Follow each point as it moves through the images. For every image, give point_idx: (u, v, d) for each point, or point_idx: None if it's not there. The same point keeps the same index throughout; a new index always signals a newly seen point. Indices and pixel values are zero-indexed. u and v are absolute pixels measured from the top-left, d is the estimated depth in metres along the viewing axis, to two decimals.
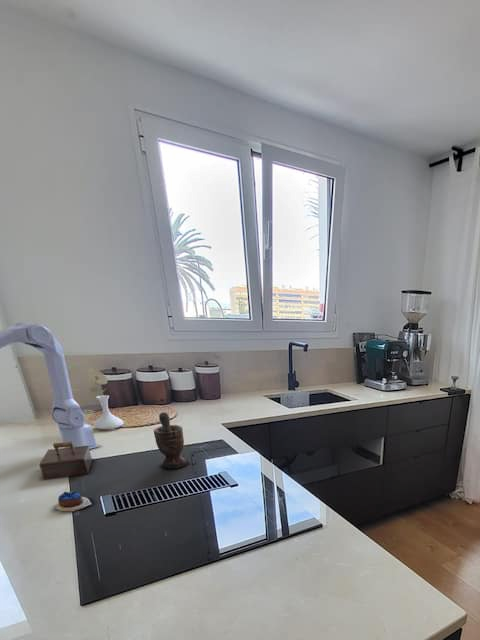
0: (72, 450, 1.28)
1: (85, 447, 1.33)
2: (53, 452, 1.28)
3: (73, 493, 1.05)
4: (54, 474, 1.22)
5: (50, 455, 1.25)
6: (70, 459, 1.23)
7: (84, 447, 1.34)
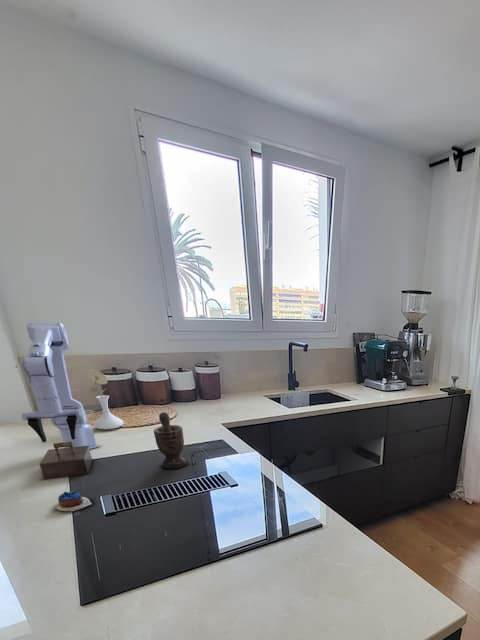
0: (72, 450, 1.28)
1: (85, 447, 1.33)
2: (53, 452, 1.28)
3: (73, 493, 1.05)
4: (54, 474, 1.22)
5: (50, 455, 1.25)
6: (70, 459, 1.23)
7: (84, 447, 1.34)
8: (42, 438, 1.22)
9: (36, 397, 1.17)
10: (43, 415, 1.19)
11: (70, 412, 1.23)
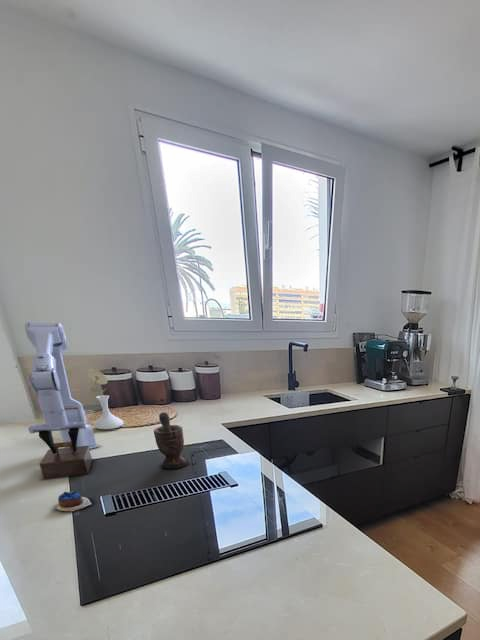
0: (72, 450, 1.28)
1: (85, 447, 1.33)
2: None
3: (73, 493, 1.05)
4: (54, 474, 1.22)
5: (50, 455, 1.25)
6: (70, 459, 1.23)
7: (84, 447, 1.34)
8: (52, 450, 1.25)
9: (43, 410, 1.19)
10: (49, 428, 1.21)
11: (76, 424, 1.25)
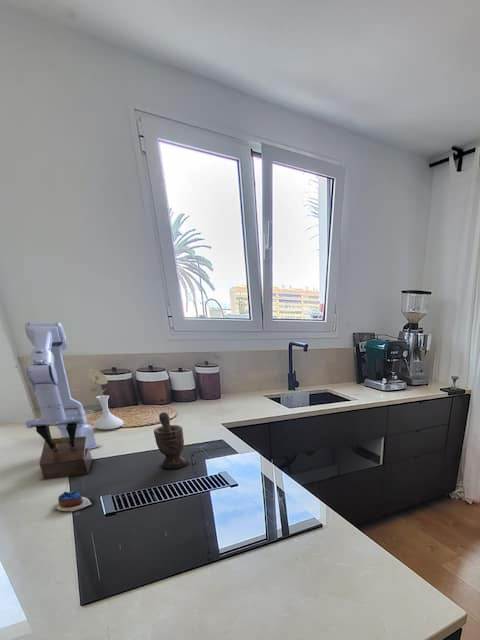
0: (70, 445, 1.27)
1: (83, 439, 1.32)
2: None
3: (73, 493, 1.05)
4: (54, 474, 1.22)
5: (48, 450, 1.25)
6: (70, 458, 1.23)
7: (81, 438, 1.32)
8: (50, 445, 1.23)
9: (40, 405, 1.18)
10: (47, 423, 1.19)
11: (74, 419, 1.23)
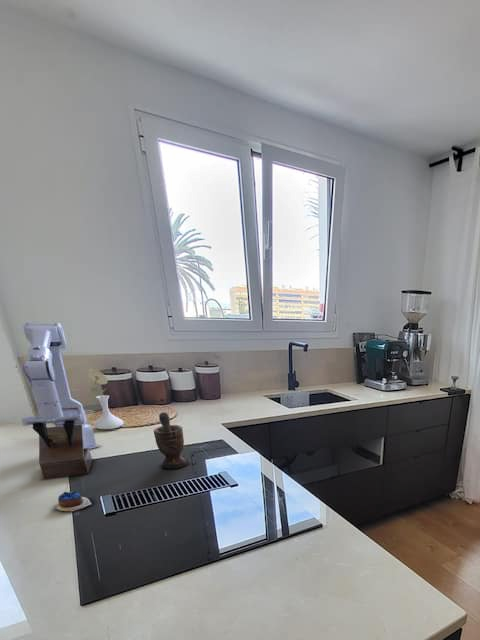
0: None
1: (79, 429, 1.29)
2: None
3: (73, 493, 1.05)
4: (54, 474, 1.22)
5: (45, 444, 1.23)
6: (69, 458, 1.23)
7: (77, 428, 1.29)
8: (47, 443, 1.20)
9: (37, 402, 1.15)
10: (44, 420, 1.17)
11: (71, 417, 1.21)
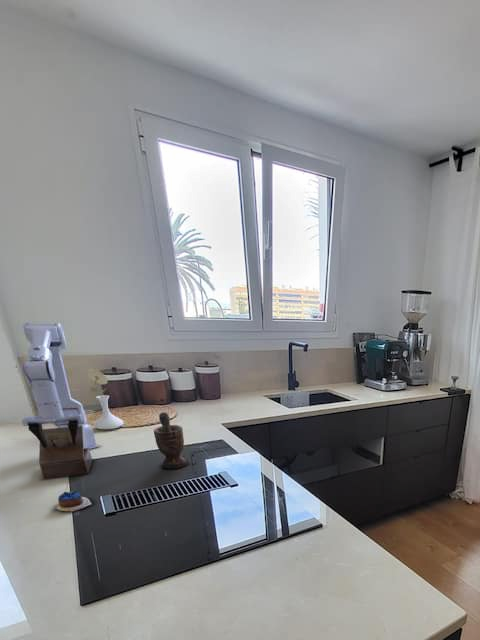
0: (68, 440, 1.25)
1: (79, 430, 1.29)
2: (47, 437, 1.24)
3: (73, 493, 1.05)
4: (54, 474, 1.22)
5: None
6: (69, 458, 1.23)
7: (78, 429, 1.29)
8: (43, 443, 1.20)
9: (37, 402, 1.15)
10: (44, 420, 1.17)
11: (71, 417, 1.21)
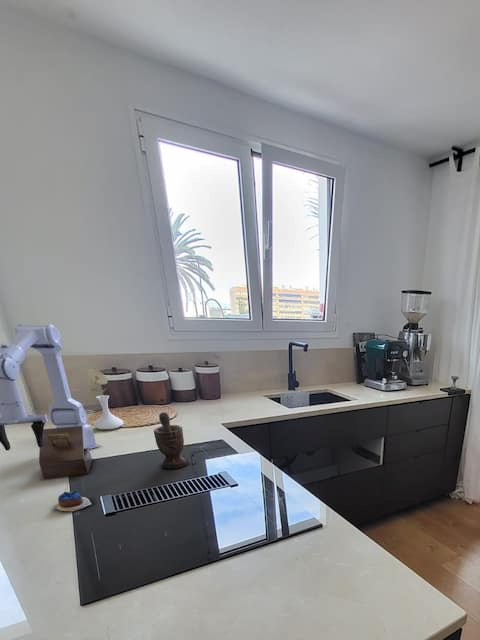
0: (68, 440, 1.25)
1: (79, 430, 1.29)
2: (47, 437, 1.24)
3: (73, 493, 1.05)
4: (54, 474, 1.22)
5: (46, 445, 1.23)
6: (69, 458, 1.23)
7: (78, 429, 1.29)
8: (5, 446, 1.13)
9: None
10: (5, 421, 1.10)
11: (36, 418, 1.14)
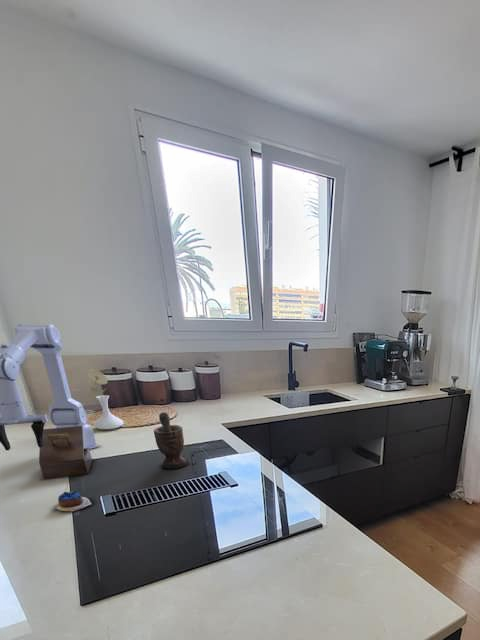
0: (68, 440, 1.25)
1: (79, 430, 1.29)
2: (47, 437, 1.24)
3: (73, 493, 1.05)
4: (54, 474, 1.22)
5: (46, 445, 1.23)
6: (69, 458, 1.23)
7: (78, 429, 1.29)
8: (5, 446, 1.13)
9: None
10: (5, 421, 1.10)
11: (36, 418, 1.14)
